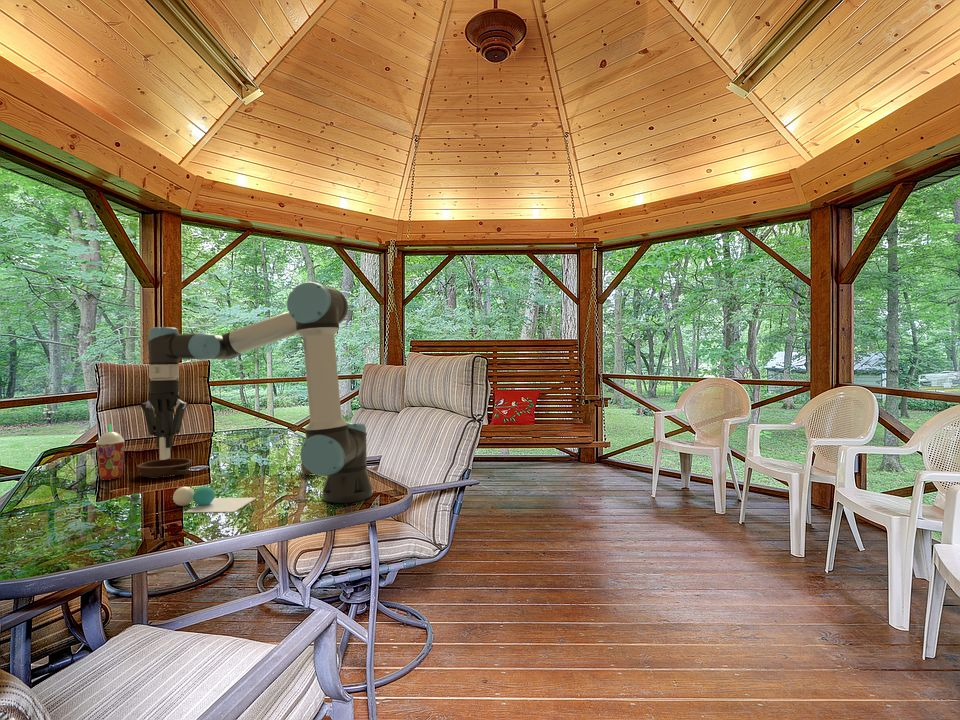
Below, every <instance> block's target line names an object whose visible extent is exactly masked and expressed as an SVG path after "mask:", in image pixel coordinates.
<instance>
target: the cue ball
mask: <svg viewBox="0 0 960 720" xmlns="http://www.w3.org/2000/svg"><path fill="white" fill-rule="evenodd" d="M194 493H195V490H194V489H193V488H192V487H189V486H180V487H179V488H177V489H176V490H175V491H174V493H173V496H172V500H173V502H174V503H175V504H176V506H177V505H178V506H182V507H184V506H189V505H190V504H191V503H192V502H193V501H194V498H193V496H194Z"/></svg>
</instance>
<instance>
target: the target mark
mask: <svg viewBox="0 0 960 720" xmlns="http://www.w3.org/2000/svg"><path fill="white" fill-rule="evenodd" d="M256 499H258V497H214V499H213V501H212V502H211V503H210V504H208V505H204V506H201V505H198V504H196V505H195V506H194V507H191V508H190V509H188V510H186V511H184V513H187V514H188V513H191V514H192V513H197V514H198V513H201V514H202V513H235V512H237V511H239V510H240V509H242V508H243V507H245V506H247V505H249V504H250V503H251V502H253V501H255V500H256Z"/></svg>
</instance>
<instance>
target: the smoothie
mask: <svg viewBox="0 0 960 720" xmlns="http://www.w3.org/2000/svg"><path fill="white" fill-rule="evenodd" d="M108 426H109V427H108V428H109V429H108V432H107V431H106V432H105V433H103V434H101V435H100V437H99V438H98V440H97V441H96V453H97V463H98V464H97V465H98V466H97V467H98V477H99V478H100V479H104V480H108V479H115V478H118V477H121V478H122V475H123V473H124V472H123V470H124V455H125V439H124V438H123V436H122V435H121V434H120V433H119V432H116V431H112V428H113V426H112V424H109V425H108Z"/></svg>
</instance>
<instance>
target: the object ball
mask: <svg viewBox="0 0 960 720" xmlns="http://www.w3.org/2000/svg"><path fill="white" fill-rule="evenodd" d="M193 498H194V499H193V501H194V503H195V504H196V505H201V506H204V505H208V504H210V503H211V502H212V501H213V499H214V498H215V491H214V489H213V488H212V487H210V486H206V485H205V486H201V487H199V488H197V489H196V490H194V496H193Z"/></svg>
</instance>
